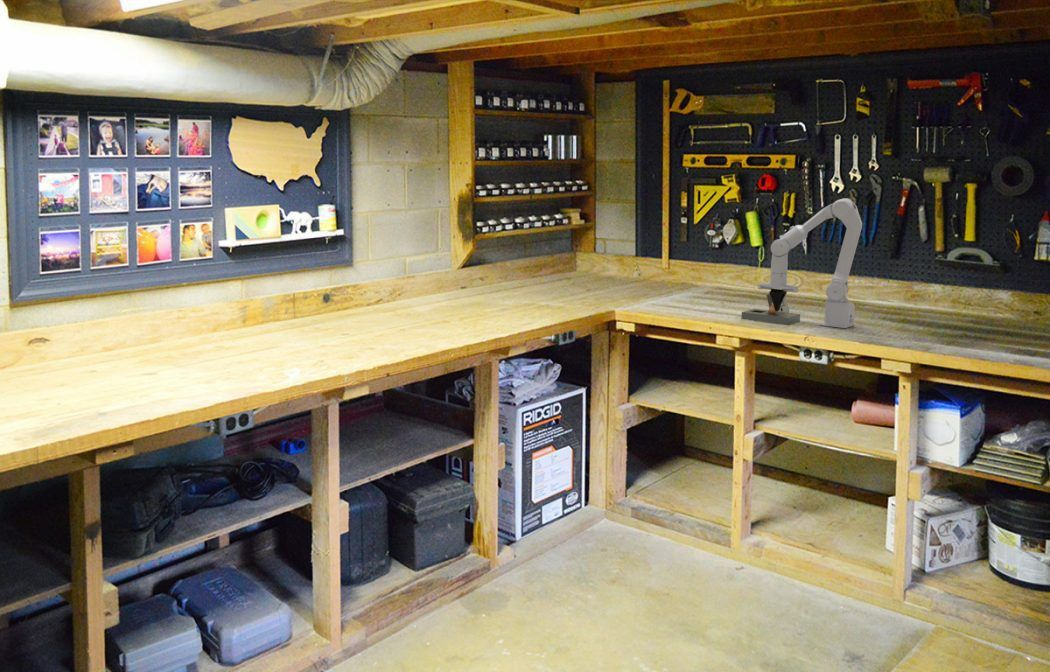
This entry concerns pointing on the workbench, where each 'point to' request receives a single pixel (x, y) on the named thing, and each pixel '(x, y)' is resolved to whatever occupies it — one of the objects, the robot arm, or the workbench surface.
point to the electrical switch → (783, 306)
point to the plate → (771, 316)
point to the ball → (772, 309)
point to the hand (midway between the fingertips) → (776, 310)
